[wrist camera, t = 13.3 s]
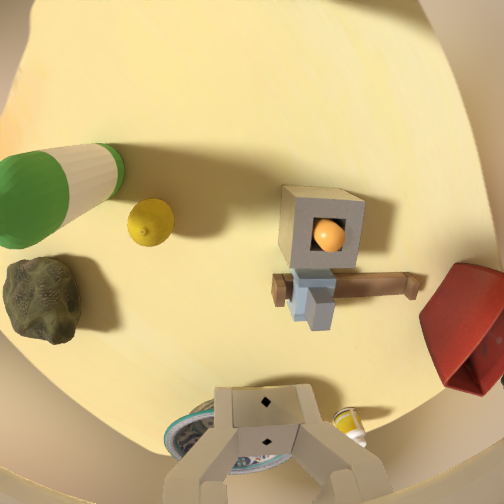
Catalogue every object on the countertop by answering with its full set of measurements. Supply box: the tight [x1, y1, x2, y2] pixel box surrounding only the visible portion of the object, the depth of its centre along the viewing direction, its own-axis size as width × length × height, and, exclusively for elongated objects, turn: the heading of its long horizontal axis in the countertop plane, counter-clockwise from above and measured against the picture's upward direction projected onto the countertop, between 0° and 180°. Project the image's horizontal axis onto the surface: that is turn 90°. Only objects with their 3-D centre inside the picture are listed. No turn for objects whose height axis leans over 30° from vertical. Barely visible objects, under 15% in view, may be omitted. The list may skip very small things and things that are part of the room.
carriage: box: [287, 268, 336, 331], centre depth 38 cm, size 6×5×9 cm
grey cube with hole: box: [278, 185, 366, 268], centre depth 35 cm, size 8×8×8 cm
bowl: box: [164, 399, 292, 475], centre depth 48 cm, size 25×25×10 cm
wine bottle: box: [0, 143, 124, 249], centre depth 20 cm, size 8×8×30 cm
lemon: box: [127, 198, 174, 247], centre depth 34 cm, size 6×6×8 cm
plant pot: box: [419, 263, 504, 397], centre depth 40 cm, size 19×19×17 cm
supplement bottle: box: [334, 408, 366, 448], centre depth 52 cm, size 5×5×10 cm
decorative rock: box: [3, 257, 81, 345], centre depth 35 cm, size 15×16×10 cm
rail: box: [271, 272, 420, 307], centre depth 41 cm, size 3×23×4 cm, turn 88°
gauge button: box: [312, 217, 345, 252], centre depth 33 cm, size 3×3×5 cm
